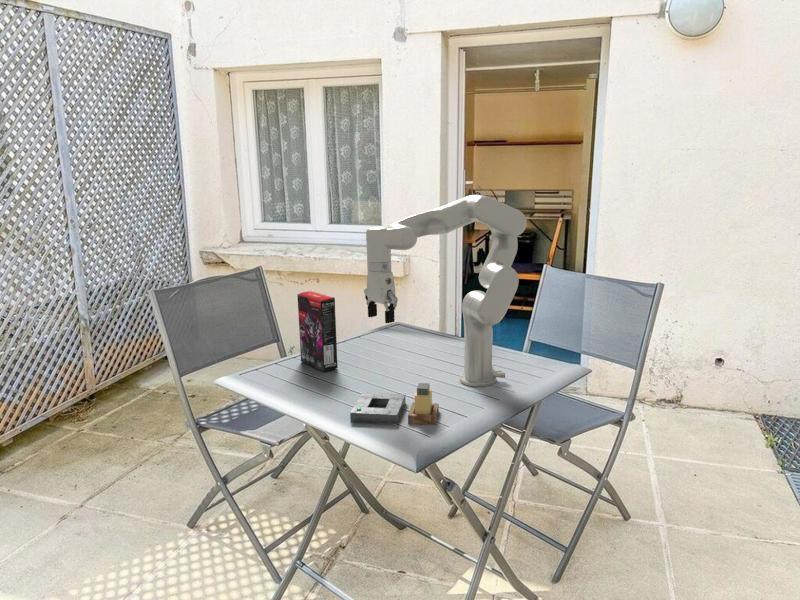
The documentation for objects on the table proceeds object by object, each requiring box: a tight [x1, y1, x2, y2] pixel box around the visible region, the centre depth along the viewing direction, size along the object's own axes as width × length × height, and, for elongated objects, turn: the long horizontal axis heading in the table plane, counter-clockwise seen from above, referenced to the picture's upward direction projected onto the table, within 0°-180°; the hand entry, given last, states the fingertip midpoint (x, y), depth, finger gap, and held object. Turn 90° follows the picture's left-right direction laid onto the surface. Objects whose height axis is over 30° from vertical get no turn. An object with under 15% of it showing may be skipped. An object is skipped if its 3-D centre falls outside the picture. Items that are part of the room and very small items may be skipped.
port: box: [349, 391, 407, 425], centre depth 183 cm, size 14×16×3 cm
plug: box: [414, 382, 433, 415], centre depth 178 cm, size 4×6×10 cm
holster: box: [407, 401, 440, 426], centre depth 179 cm, size 8×10×2 cm
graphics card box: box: [296, 290, 338, 372], centre depth 223 cm, size 17×7×27 cm, turn 40°
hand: (381, 319), depth 191 cm, fingers open, 9 cm apart
